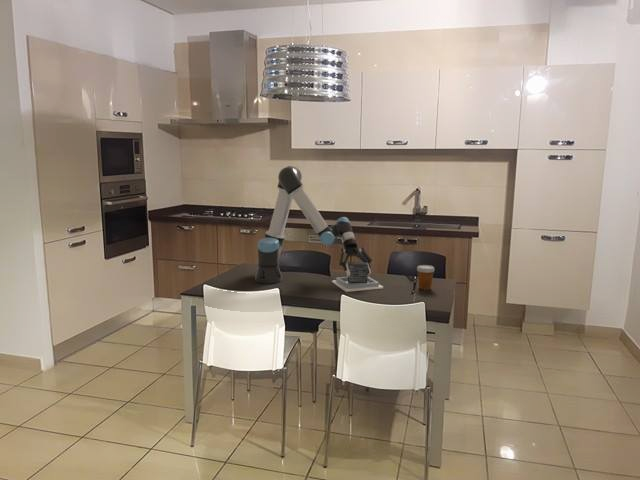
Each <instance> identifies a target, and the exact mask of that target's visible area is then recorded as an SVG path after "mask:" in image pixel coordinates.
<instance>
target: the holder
mask: <svg viewBox="0 0 640 480" xmlns="http://www.w3.org/2000/svg"><path fill="white" fill-rule="evenodd" d="M335 278H336V279H335V280H332V279H331V283H332V284H334V285H335V286H336V287H338V288H340V289H341V290H342V291H344V292H346V293H349V292H358V291H359V292H360V291H371V290H381V289H383V290H384V285H381V284H380V282H379V281H377V280H375V279H373V278H372V277H370V276H369V275H368V276H367V282H368V283H348V276H341V277H335Z"/></svg>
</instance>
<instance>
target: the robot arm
mask: <svg viewBox="0 0 640 480" xmlns="http://www.w3.org/2000/svg"><path fill="white" fill-rule="evenodd" d="M277 177H278V184H277V189H278V193H277V197H276V201H275V206H274V210H273V213H272V216H271V220H270V224H269V229H268V230H266V231H265V234H264V237H263V238H260V239H259V240H258V242H257V269H256V273H255V276H254V282H256V283H259V284H265V285H266V284H277V283H280V282H282V281H283V275H282V273H281V270H280V265H279V264H280V254H281V253H282V252H283V249H284V242H285V239H286V238H285V234H284V232H285V228H286V226H287V221H288V217H289V213H290V210H291V205H292V202H293V200H294V202H295V203H296V205H297V206H298V208H299V209H300V211H301V212H302V213H303V215H304V216H305V218H306V219H307V221H308V223H310V225H311V227H312V228H313V230H314V232H315V233H316V235H317V236H318V239H319V240H320V243H321V244H322V245H324V246H330V245H332V244H333V243H334V241H335V239H337V238H339V237H340V239H341V242H342V245H343V248H344V249H343V248H341V249H340V250H339V254H340V255H339V260H338V261H339V262H338V265H339V266H341V267H342V268H343V270H344V272H345V273H346V277H349V275H350V271H349V268H348V259H349V258H350V257H355V258H358V259H360V260H361V261H362V262H367V264H368V276H370V275H371V273H372V272H371V271H372V270H371V267H372V265H371V263H372V260H373V259H372V258H371V257H370V256H369V254H368V253H367V251H366V250H365V248H364V247H361V248H359V247H358V243H357V240H356V238H355V235H354V234H355V233H354V231H353V228H352V225H351V222H350V219H349V218H348V217H345V216H342V217H339V218H337V220H336V223H335V224H333V225H331V226H329V225H328V224H327V222H326V221H325V219H324V218H323V216H322V215H321V213H320V211H319V210H318V209H317V207H316V206H315V204H314V203H313V201H312V199H311V198H310V197H309V195H308V194H307V192H306V191H305V189H304V184H303V183H302V179H303V178H302V173H301V171H300V169H298V167H296V166H293V165H289V166H286V167H283V168H282V169H280V170H279V173H278V176H277ZM344 254H346V256H345V258H344ZM343 260H344V261H343Z"/></svg>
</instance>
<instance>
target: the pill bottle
mask: <svg viewBox="0 0 640 480" xmlns="http://www.w3.org/2000/svg"><path fill="white" fill-rule="evenodd" d="M435 270H436V269H435V267H434V266H433V265H429V264H420V265H418V266H417V267H416V271H417V279H418V281H417V283H418V288H420V289H419V290H422V289H424V290H423V291H427V290H428V289H429V290H432V289H431V288H432V285H433V284H432V283H433V278H434V273H435ZM429 290H428V291H429Z"/></svg>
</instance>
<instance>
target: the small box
mask: <svg viewBox="0 0 640 480" xmlns="http://www.w3.org/2000/svg"><path fill="white" fill-rule="evenodd" d="M347 265H348V268H349V271H350V275H349V277H348V276H347V277H348V283H368V282H367V276H368V277H369V275H368V264H367V262H363V261H362V262H361V261H359V262H356V261H355V262H354V261H347Z"/></svg>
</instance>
